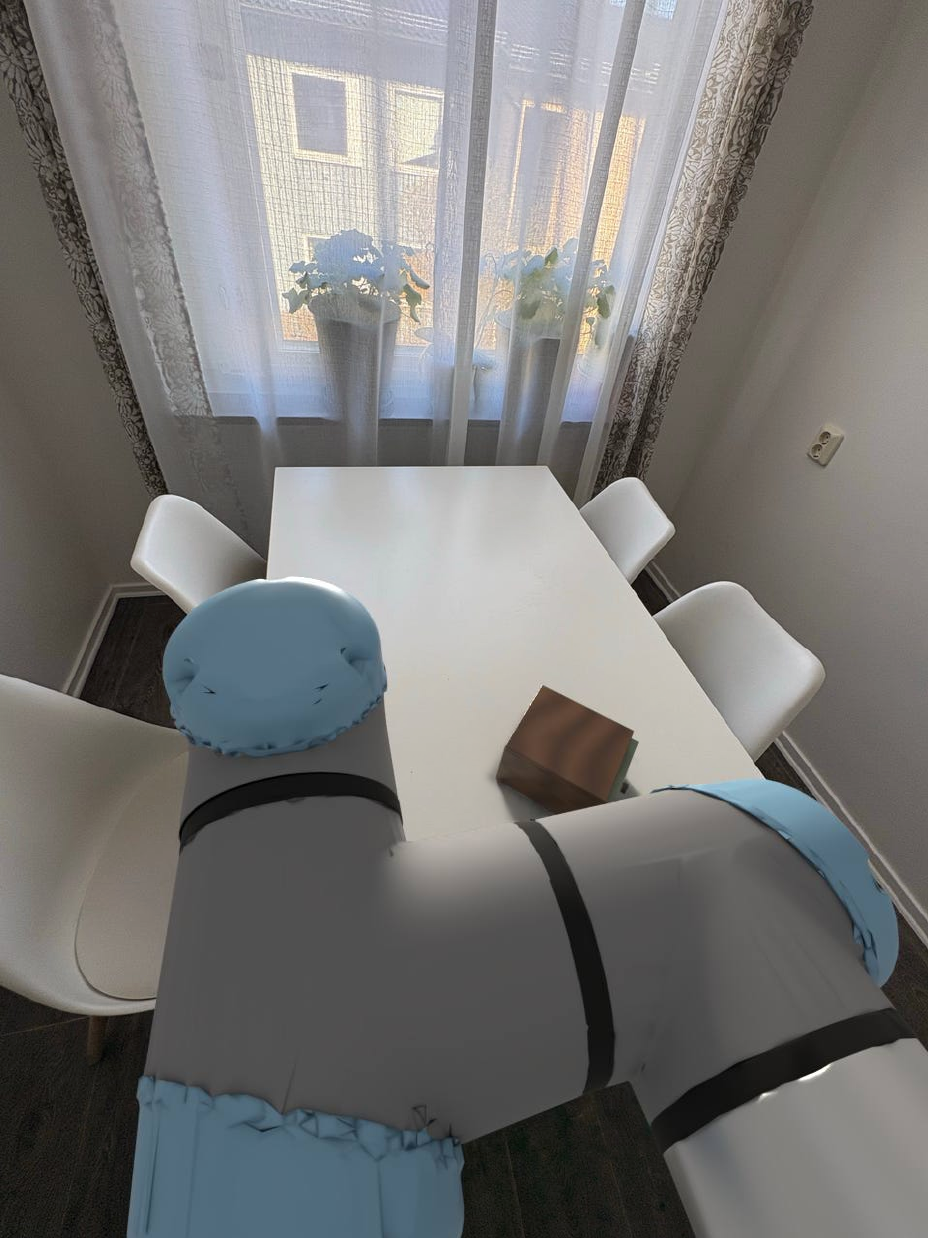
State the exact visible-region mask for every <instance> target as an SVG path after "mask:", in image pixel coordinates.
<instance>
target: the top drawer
mask: <svg viewBox="0 0 928 1238" xmlns="http://www.w3.org/2000/svg"><path fill="white" fill-rule="evenodd" d="M639 743H640V741H639V740H637V739H635V738H633V737H632V739H631V741H630V744H629V746H628V749H627V751H626V754H625V756H624V759H623V761H622V764H621V766H620V769H619V771H618V774H617V776H616V779H615V781H614V784H613V786H612V789H611V791H610V794H609V796H608V799H607V801H606V803H605V804H607V803H611V802H616V801H618V798H619V796H620V793H621V794H623V795H625V794H626V793H627V791H628V790H629V787H630V783H628V782H626V781H625V779H626V777H627V774H628V773H629V772H628V771H629V769H630V766H631V763H632V761H633V759H634V757H635V753H636V750H637V749H638V746H639Z"/></svg>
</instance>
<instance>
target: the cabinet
mask: <svg viewBox="0 0 928 1238" xmlns="http://www.w3.org/2000/svg"><path fill="white" fill-rule="evenodd" d="M634 733H635V730H633V729H631V728H629V727H627V726H625V725H623V724H621V723H619V722H618V721H615V720H613V719H612V718H610V717H607V716H606V715H603V714H602V713H599V712H597V711H595V710H593V709H591V708H589V707H588V706H586V705H584V704H582V703H580V702H578V701H576V700H574V699H572V698H569V697H568V696H566V695H563V694H562V693H561V692H557V691H556V690H554V689H552V688H550V687H548V686H546V685H544V684H542V685H541V686H540V688H539V689H538V691H537V693H535V696H534V698H533V699H532V701H531V702H530V704H529V706H528V707H527V709H526V711H525V712H524V714H523V715H522V718H521V719H520V720H519V722H518V724H517V725H516V727H515V729H514V731H513V732H512V733H511V735H510V737H509V738H508V740H507V742H506V743H505V744H504V748H503V752H502V753H501V754H502V755H501V757H500V761H499V764H498V768H497V771H496V773H495V774H496V775H495V779H496V780H497V781H499V782H501V783H503V784H504V785H506V786H508V787H510V788H511V789H512V790H514V791H517V792H518V793H519V794H522V795H523V796H525V797H527V799H530V800H531V801H534V802H535V803H537V804H539V805H540V806H542V807H544V808H545V809H547V810H549V811H551V812H552V813H554V814H555V815H558V814H563V813H567V812H571V811H576V810H580V809H585V808H589V807H594V806H598V805H602V804H605V803H606V801H607V799H608V796H609V794H610V791H611V789H612V786H613V784H614V781H615V779H616V776H617V774H618V771H619V769H620V766H621V764H622V761H623V759H624V756H625V754H626V751H627V749H628V746H629V744H630V741H631V739H632V738H633V735H634Z"/></svg>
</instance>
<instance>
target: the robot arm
mask: <svg viewBox="0 0 928 1238" xmlns="http://www.w3.org/2000/svg"><path fill="white" fill-rule="evenodd" d="M387 675H388V674H387V669H386V665H385V662H384V660H383V650H382V640H381V636H380V632H379V628H378V626H377V624H376V620H375V619H374V617H373V615H372V614H371V612H369V611H368V609H367V608H366V606H365V605H364V604H363V603H362V602H360V601H359V599H358V598H356V597H354V596H353V595H352V594H351V593H350V592H348V591H346V590H345V589H343V588H341V587H339V586H336V585H334V584H331V583H328V582H325V581H322V580H319V579H314V578H308V577H301V576H287V577H284V578H275V579H269V580H267V579H263V578H259V579H253V580H249V581H244V582H241V583H238V584H236V585H232V586H230V587H227V588H226V589H225V588H224V590H222V591H219V592H217V593H215V594H213V595H212V596H210V597H209V598H207V599H205V600H203V601H202V602H201V603H199V604H198V605H197V606H196V607H194V608H193V609H192V610H190V612H189V613H187V615H186V616H185V617H184V618H183V619H182V620H181V622H180V623H179V624H178V625H177V627H176V628H175V629H174V631H173V632H172V634H171V636H170V638H169V639H168V642H167V644H166V646H165V649H164V653H163V659H162V679H163V683H164V687H165V690H166V693H167V695H168V698H169V701H170V708H169V711H170V715H171V717H172V719H174V721H173V724H174V726H175V727H176V729H177V730H178V732H179V733H180V734H181V735H183V736H184V737H185V738H186V740H187V746H188V758H187V759H188V761H187V768H186V775H185V783H184V789H183V794H182V795H183V796H182V802H181V810H180V819H179V827H178V828H179V829H178V836H177V838H178V841H179V850H178V860H177V866H176V872H175V879H174V885H173V891H172V897H171V904H170V910H169V916H168V921H167V929H166V935H165V941H164V942H165V943H164V946H163V947H164V948H163V952H162V953H163V954H162V960H161V967H160V972H159V979H158V985H157V990H156V991H157V992H156V997H155V1003H154V1009H153V1016H152V1022H151V1027H150V1028H151V1030H150V1034H149V1041H148V1047H147V1053H146V1057H145V1058H146V1059H145V1065H144V1070H143V1075H141V1076H140V1077H138V1084H137V1091H136V1100H137V1101H138V1104H139V1112H138V1124H137V1132H136V1143H135V1152H134V1162H133V1171H132V1180H131V1188H130V1189H131V1190H130V1199H129V1210H128V1219H127V1228H126V1229H127V1230H126V1238H461V1237H462V1235H463V1229H464V1223H465V1203H464V1194H463V1186H462V1178H461V1177H462V1176H461V1175H462V1172H463V1168H464V1165H465V1158H464V1153H463V1150H462V1149H463V1148H462V1145H463V1144H466V1143H469V1142H471V1141H473V1140H476V1139H479V1138H481V1137H483V1136H486V1135H488V1134H491V1133H493V1132H495V1131H496V1132H497V1131H498V1130H501V1129H503V1128H506V1127H508V1126H511V1125H514V1124H516V1123H517V1122H521V1121H523V1120H525V1119H528V1118H531V1117H533V1116H535V1115H538V1114H539V1113H540V1114H541V1113H543V1112H545V1111H548V1110H550V1109H552V1108H555V1107H558V1106H560V1105H563V1104H565V1103H567V1102H570V1101H573V1100H575V1099H579V1098H581V1097H584V1096H586V1095H589V1094H591V1093H594V1092H598V1091H601V1090H603V1089H606V1088H609V1087H613V1086H616V1085H619V1084H622V1083H625V1082H626V1083H627V1082H628V1083H630V1084H631V1087H632V1089H633V1092H634V1094H635V1096H636V1098H637V1101H638V1103H639V1106H640V1108H641V1111H642V1113H643V1114H644V1117H645V1119H646V1121H647V1124H648V1126H649V1129H650V1131H651V1134H652V1136H653V1138H654V1141H655V1144H656V1147H657V1149H658V1151H659V1154H660V1157H661V1158H664V1160H665V1164H666V1166H667V1168H668V1171H669V1173H670V1177H671V1178H672V1181H673V1183H674V1187H675V1188H676V1191H677V1194H678V1197H679V1199H680V1201H681V1203H682V1206H683V1208H684V1211H685V1213H686V1215H687V1218H688V1221H689V1223H690V1226H691V1228H692V1231H693V1234H694V1236H695V1238H928V1050H927V1049H926V1048H925V1046H924V1045H923V1044H922V1042H920V1040H919V1037H918V1035H917V1034H916V1033H915V1031H914V1030H913V1029H912V1027H911V1026H910V1025H909V1023H907V1021H906V1020H905V1018H904V1017H903V1016H902V1015H901V1014H900V1012H899V1011H898V1010H897V1008H896V1007H895V1006H894V1004H893V1003H892V1002H891V1001H890V999H889V998H888V997H887V996H886V995H885V992H884V991H883V990H882V989H881V988H882V987H883V986H884V985H885V984H886V983H887V982H888V980H889V979H890V977H891V976H892V974H893V972H894V970H895V966H896V963H897V961H898V957H899V948H900V940H899V939H900V938H899V926H898V917H897V915H896V910H895V909H894V905H893V901H892V897H891V896H890V894H889V893H888V892H887V891H886V890H885V889H882V888H881V887H880V886H879V885H878V882H877V880H876V878H875V876H874V874H873V872H872V870H871V868H870V865H869V862H868V861H869V859H870V855H869V853H868V852H867V850H866V848H865V847H864V845H863V844H862V843H861V842H860V840H859V839H858V838H857V837H856V836H855V835H854V833H853V832H852V831H851V830H850V828H848V827H847V825H845V823H843V822H842V820H840V819H839V818H838V817H837V816H836V815H835V814H834V813H833V812H831V810H830V809H828V808H827V807H825V805H823V804H822V803H820V802H819V801H817V800H815V799H814V798H813V797H811V796H810V795H808V794H806V793H805V792H802V791H800V789H797V788H795V787H792V786H789V785H787V784H783V783H782V782H777V781H773V780H769V779H766V778H765V779H764V778H751V777H750V778H742V779H733V780H728V781H727V780H726V781H718V782H710V783H699V784H685V783H682V784H676V785H671V784H668V785H666V786H663V787H661V788H657V789H656V788H655V789H652V790H651V791H650V792H649V793H647V794H643V795H639V796H633V797H628V798H625V799H620V800H616V802H611V803H607V804H602V805H598V806H594V807H589V808H585V809H580V810H576V811H571V812H567V813H563V814H555V815H550V816H545V817H541V818H536V819H532V818H530V819H524V820H519V821H514V822H506V823H501V824H496V825H492V826H485V827H480V828H476V829H472V830H471V829H470V830H466V831H461V832H460V831H459V832H456V833H451V834H446V835H445V834H444V835H440V836H435V837H430V838H425V839H420V840H410V841H409V840H407V837H406V834H405V829H404V819H403V814H402V813H403V812H402V806H401V801H400V799H399V795H398V788H397V783H396V776H395V770H394V763H393V758H392V757H393V756H392V751H391V746H390V739H389V733H388V727H387V718H386V709H385V708H386V707H385V693H386V692H387V691H388V676H387Z"/></svg>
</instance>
